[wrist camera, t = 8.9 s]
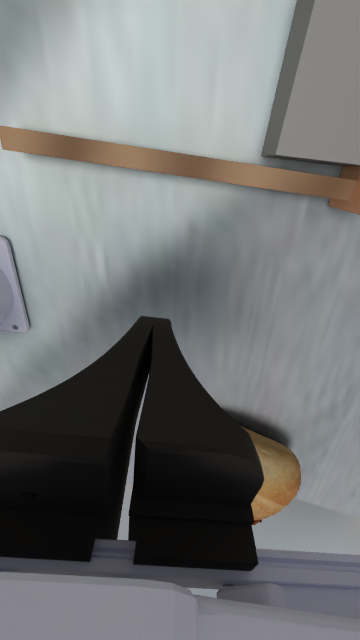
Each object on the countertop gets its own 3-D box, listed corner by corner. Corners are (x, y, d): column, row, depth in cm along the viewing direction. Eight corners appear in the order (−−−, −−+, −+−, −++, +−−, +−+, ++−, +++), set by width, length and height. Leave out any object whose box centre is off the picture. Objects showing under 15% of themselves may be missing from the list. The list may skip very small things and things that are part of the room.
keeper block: (260, 156, 15) (275, 154, 12) (294, 4, 12) (325, -41, 9) (340, 165, 15) (372, 166, 12) (396, 18, 12) (454, -21, 9)
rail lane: (25, 161, 15) (-15, 160, 12) (-34, -175, 9) (-137, -337, 6) (349, 208, 16) (387, 218, 13) (474, -64, 10) (591, -155, 7)
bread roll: (258, 469, 34) (277, 546, 27) (159, 439, 30) (152, 518, 23) (308, 432, 29) (346, 513, 22) (198, 391, 26) (203, 472, 19)
